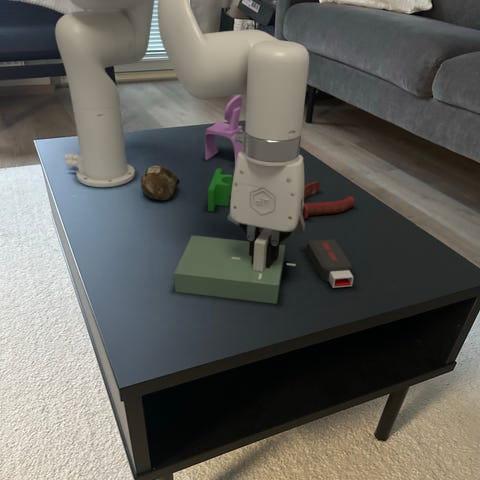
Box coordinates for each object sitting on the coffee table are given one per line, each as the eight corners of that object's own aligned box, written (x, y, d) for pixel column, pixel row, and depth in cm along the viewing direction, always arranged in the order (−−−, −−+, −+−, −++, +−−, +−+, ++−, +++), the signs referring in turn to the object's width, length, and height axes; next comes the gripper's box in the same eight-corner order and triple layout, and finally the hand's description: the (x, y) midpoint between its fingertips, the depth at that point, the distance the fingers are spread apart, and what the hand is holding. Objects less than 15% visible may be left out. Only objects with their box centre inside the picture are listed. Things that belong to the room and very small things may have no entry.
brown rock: (153, 169, 109) (127, 193, 103) (163, 148, 104) (136, 172, 98) (181, 191, 110) (157, 216, 104) (192, 171, 105) (167, 196, 99)
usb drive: (333, 249, 90) (335, 235, 88) (357, 287, 81) (360, 272, 79) (305, 251, 89) (307, 237, 88) (326, 289, 80) (329, 275, 78)
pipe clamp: (226, 213, 100) (226, 191, 97) (207, 211, 100) (207, 189, 97) (233, 189, 109) (234, 169, 106) (216, 187, 109) (216, 167, 106)
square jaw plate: (262, 272, 77) (264, 242, 74) (252, 270, 77) (254, 240, 74) (273, 253, 81) (276, 224, 78) (264, 251, 82) (266, 222, 78)
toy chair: (217, 150, 127) (217, 86, 118) (248, 156, 124) (251, 92, 115) (201, 160, 121) (200, 95, 112) (234, 167, 118) (236, 101, 109)
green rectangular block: (175, 291, 78) (173, 272, 76) (192, 252, 87) (191, 234, 85) (290, 305, 76) (292, 285, 74) (295, 264, 86) (297, 245, 83)
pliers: (248, 216, 99) (248, 203, 97) (314, 189, 110) (315, 178, 108) (290, 238, 93) (292, 226, 91) (356, 208, 104) (358, 196, 102)
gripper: (207, 145, 67) (208, 263, 78) (323, 164, 63) (306, 284, 75) (227, 129, 72) (225, 241, 84) (334, 145, 69) (317, 260, 80)
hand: (263, 260), depth 79 cm, fingers closed on square jaw plate
